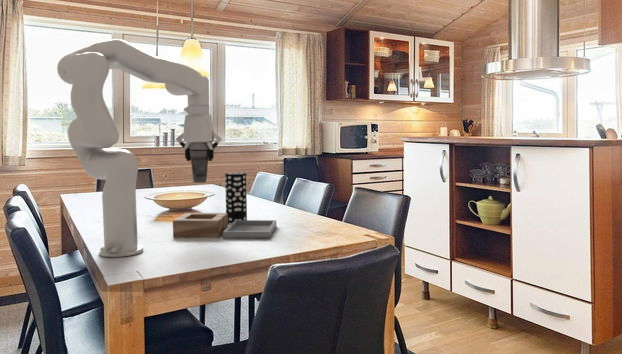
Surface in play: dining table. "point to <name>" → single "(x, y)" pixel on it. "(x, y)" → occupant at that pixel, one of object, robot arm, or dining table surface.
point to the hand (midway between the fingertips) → (199, 160)
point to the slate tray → (250, 229)
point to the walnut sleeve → (200, 225)
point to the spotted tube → (236, 196)
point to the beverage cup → (199, 161)
